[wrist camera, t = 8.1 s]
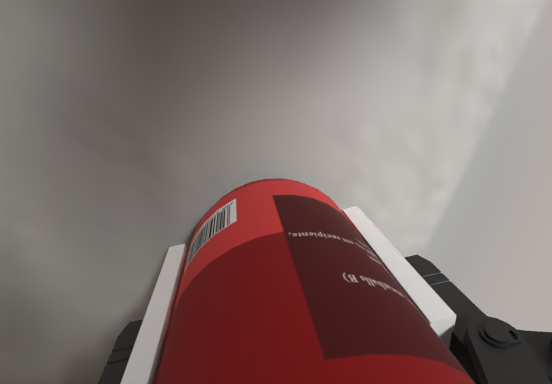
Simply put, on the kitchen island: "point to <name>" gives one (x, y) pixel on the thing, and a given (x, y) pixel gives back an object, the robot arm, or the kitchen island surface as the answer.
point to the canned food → (294, 301)
